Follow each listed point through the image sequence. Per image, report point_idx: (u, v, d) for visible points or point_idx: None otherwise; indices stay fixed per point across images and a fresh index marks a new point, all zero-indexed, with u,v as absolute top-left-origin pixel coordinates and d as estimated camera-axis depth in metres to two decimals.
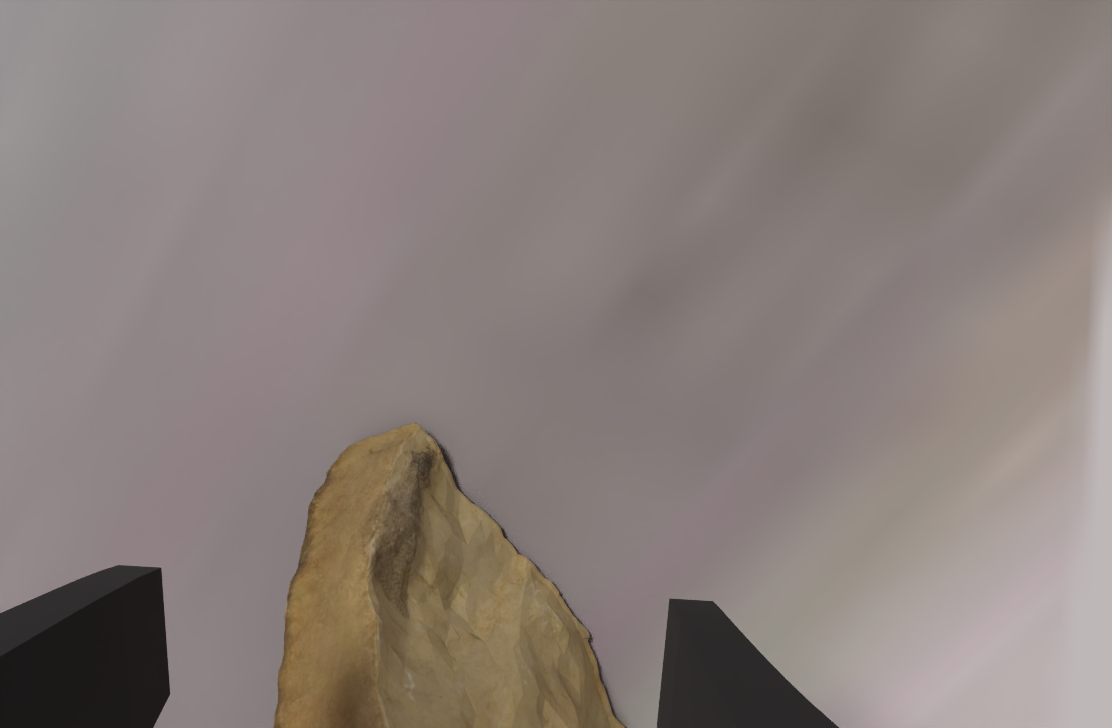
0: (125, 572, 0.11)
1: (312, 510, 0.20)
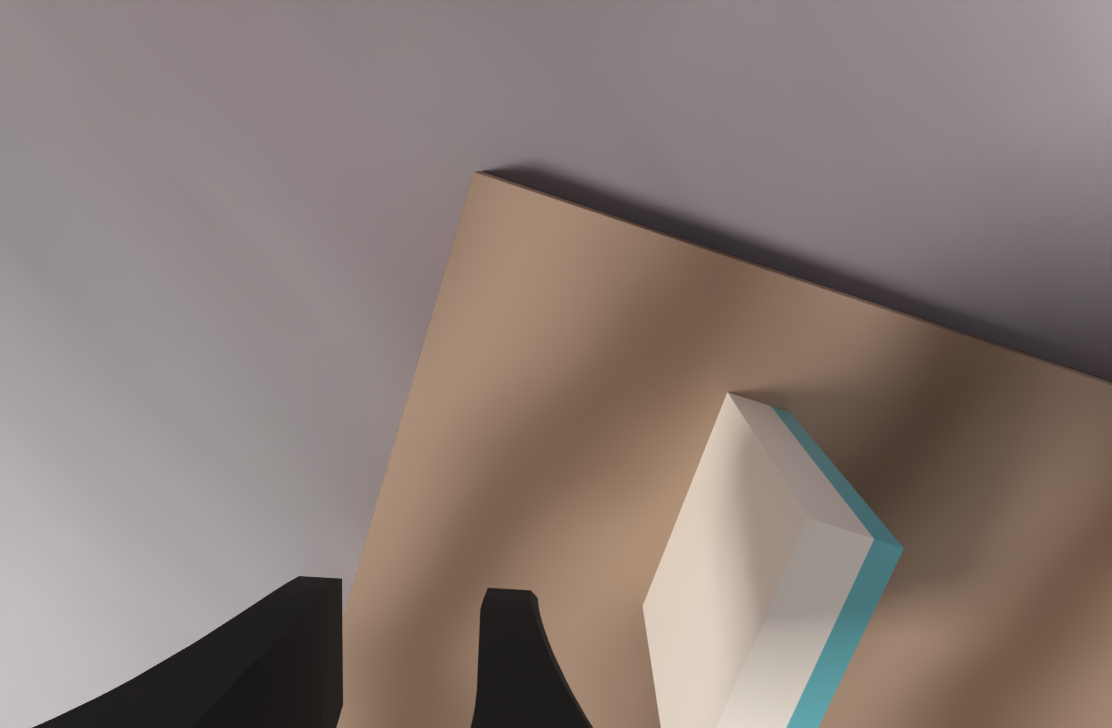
0: (313, 584, 0.11)
1: None
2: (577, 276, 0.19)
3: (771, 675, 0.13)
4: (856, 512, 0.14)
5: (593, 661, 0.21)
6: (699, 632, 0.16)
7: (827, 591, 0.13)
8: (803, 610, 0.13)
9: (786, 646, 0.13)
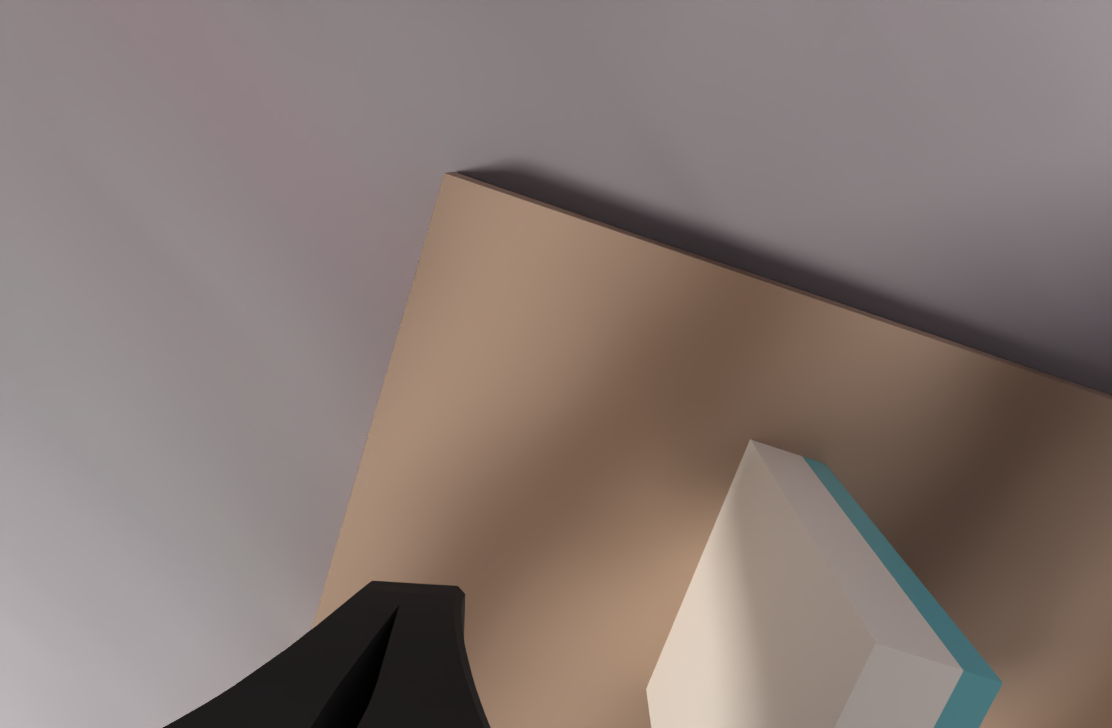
0: (389, 588, 0.11)
1: None
2: (570, 299, 0.16)
3: None
4: (932, 624, 0.11)
5: None
6: None
7: None
8: None
9: None
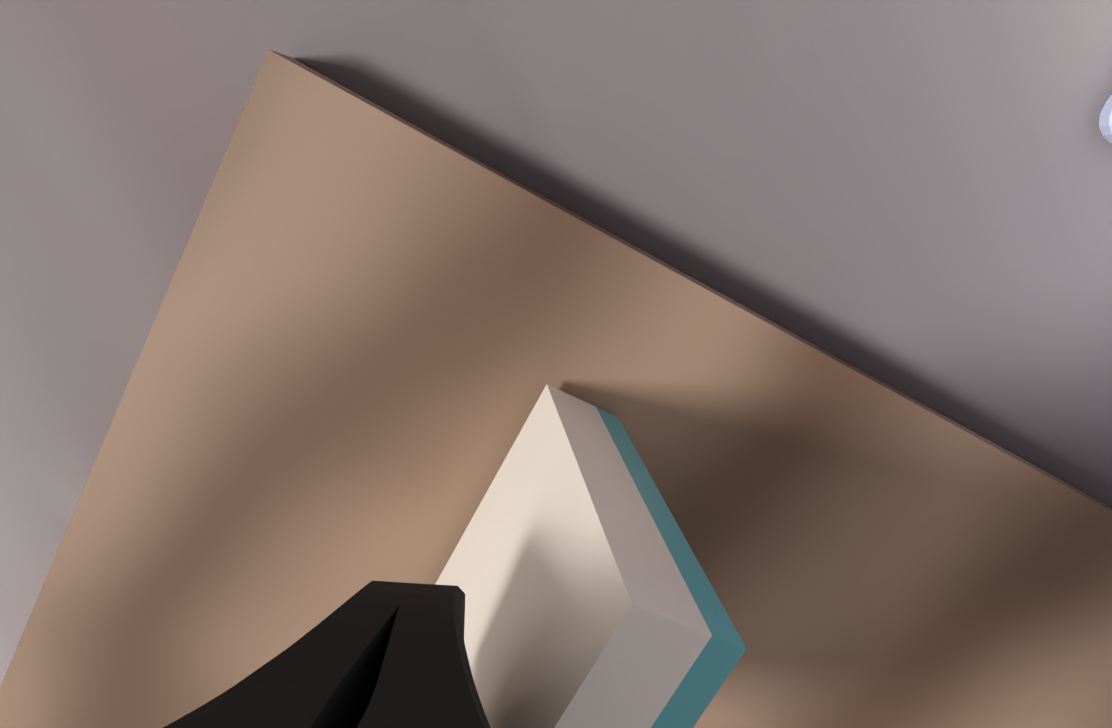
0: (389, 588, 0.11)
1: None
2: (382, 204, 0.15)
3: None
4: (691, 587, 0.10)
5: None
6: None
7: (641, 697, 0.10)
8: (607, 720, 0.10)
9: None
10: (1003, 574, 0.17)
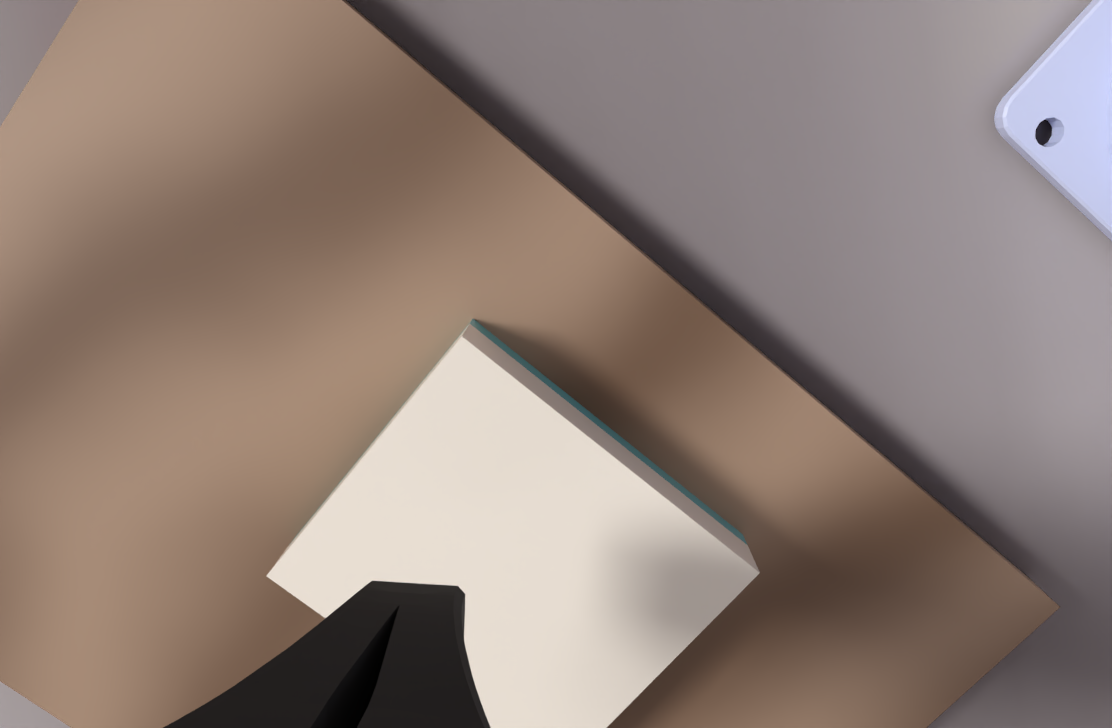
0: (389, 588, 0.11)
1: None
2: (262, 44, 0.15)
3: None
4: (709, 513, 0.16)
5: (148, 535, 0.17)
6: (526, 633, 0.16)
7: None
8: None
9: None
10: (825, 548, 0.17)
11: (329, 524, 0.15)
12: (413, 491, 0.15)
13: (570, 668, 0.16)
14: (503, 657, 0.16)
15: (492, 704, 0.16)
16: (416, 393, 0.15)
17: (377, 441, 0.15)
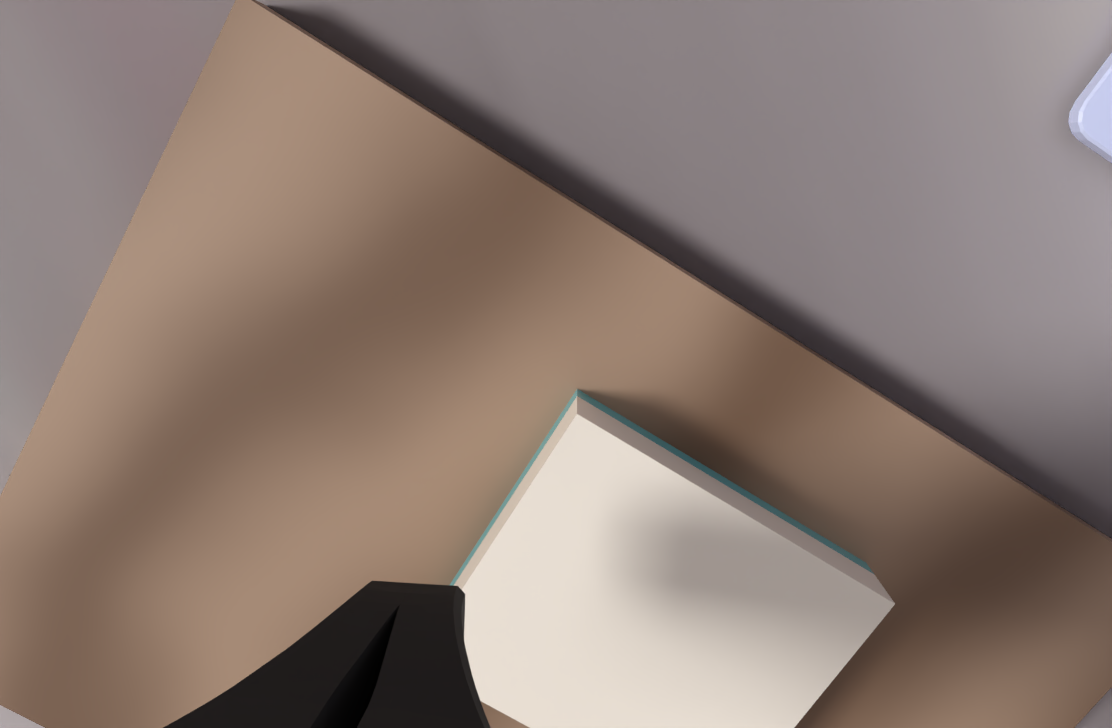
0: (389, 588, 0.11)
1: None
2: (346, 157, 0.15)
3: None
4: (832, 548, 0.16)
5: (288, 633, 0.18)
6: (671, 689, 0.16)
7: None
8: None
9: None
10: (950, 566, 0.17)
11: (468, 608, 0.16)
12: (546, 566, 0.15)
13: (717, 717, 0.16)
14: (650, 714, 0.16)
15: None
16: (538, 473, 0.15)
17: (505, 523, 0.15)
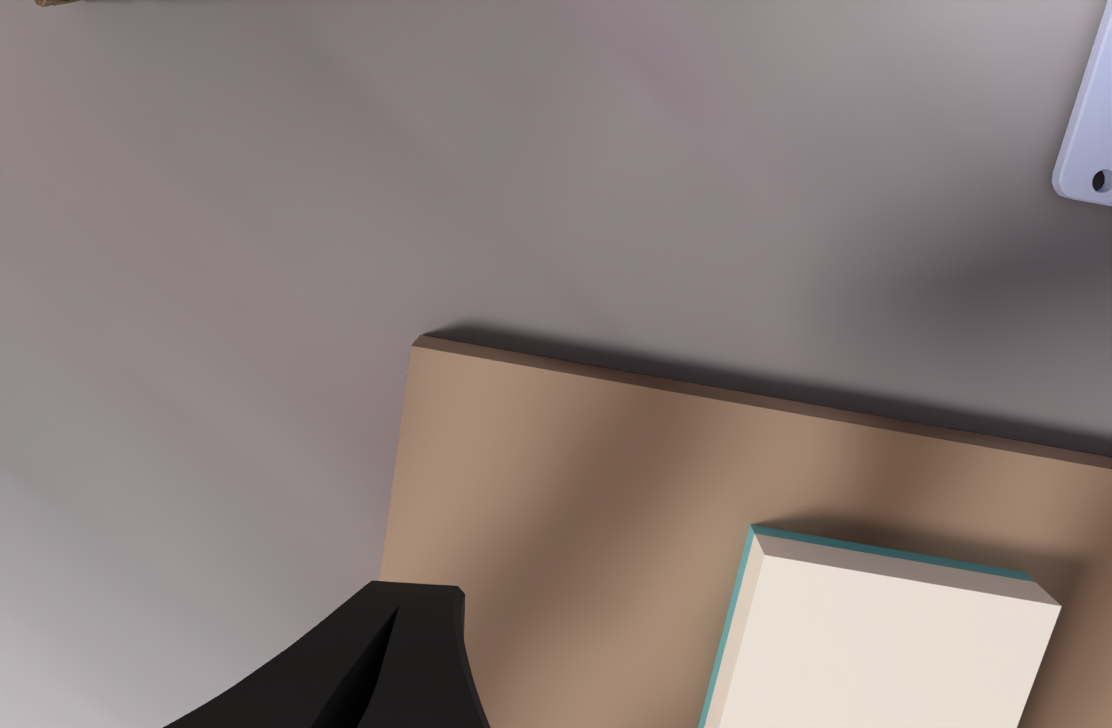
0: (389, 588, 0.11)
1: None
2: (523, 426, 0.20)
3: None
4: (994, 573, 0.20)
5: None
6: (910, 726, 0.20)
7: None
8: None
9: None
10: (1094, 551, 0.20)
11: (734, 718, 0.20)
12: (781, 670, 0.20)
13: None
14: None
15: None
16: (751, 606, 0.19)
17: (740, 649, 0.19)
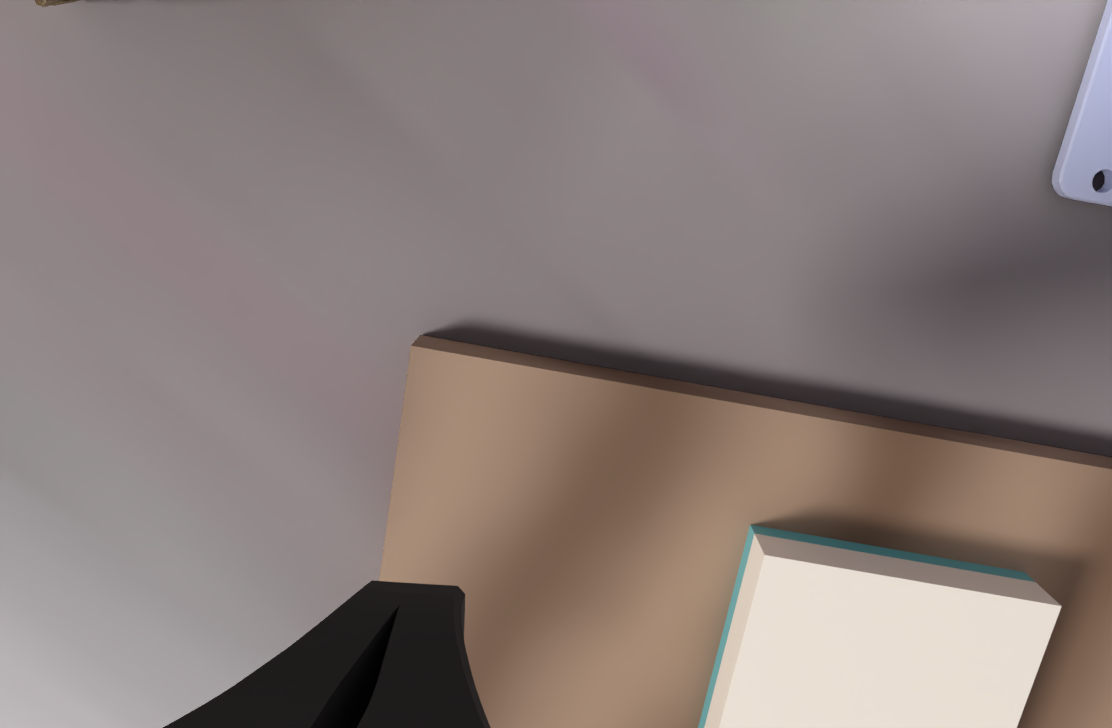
0: (389, 588, 0.11)
1: None
2: (523, 426, 0.20)
3: None
4: (994, 573, 0.20)
5: None
6: (910, 726, 0.20)
7: None
8: None
9: None
10: (1094, 551, 0.20)
11: (734, 718, 0.20)
12: (781, 670, 0.20)
13: None
14: None
15: None
16: (751, 606, 0.19)
17: (740, 649, 0.19)
